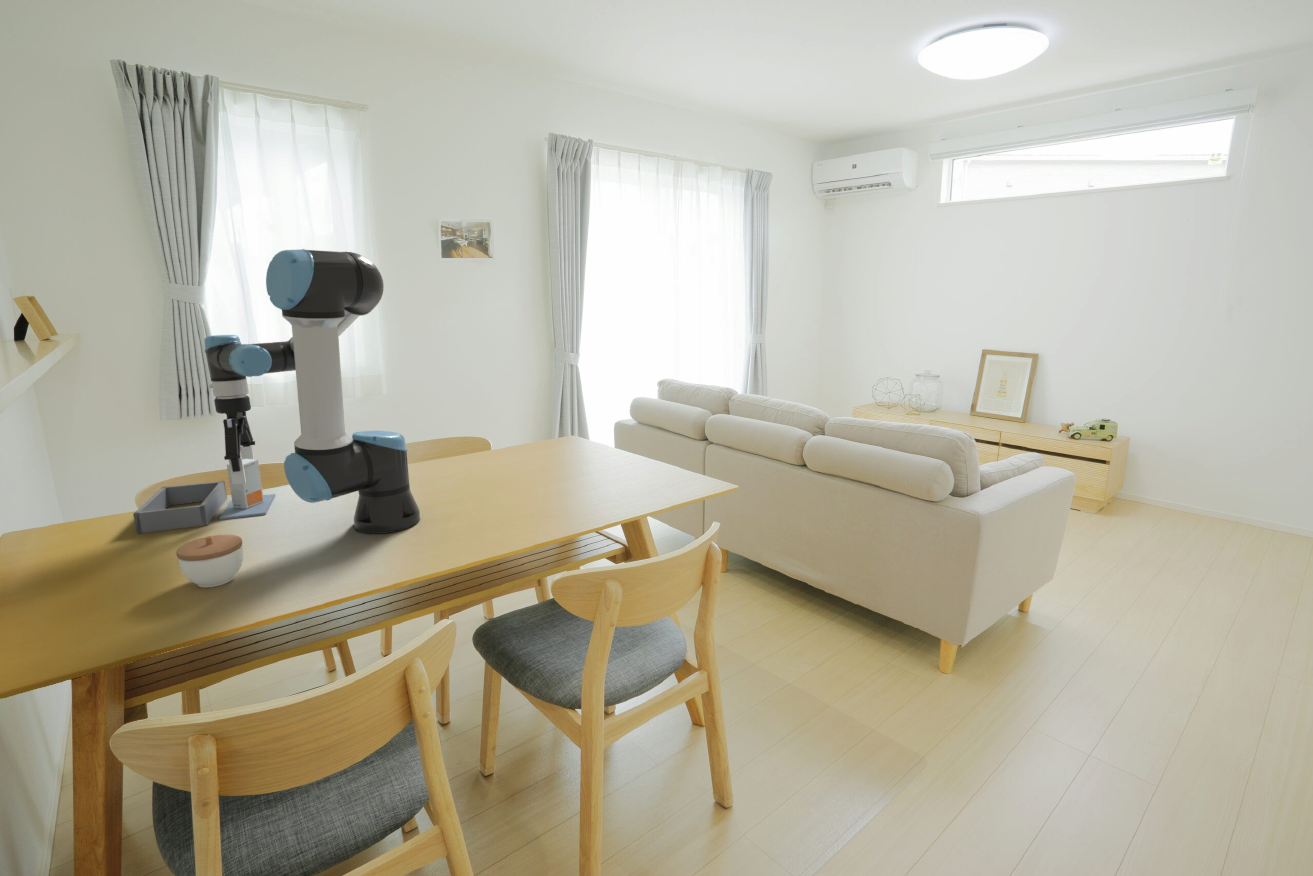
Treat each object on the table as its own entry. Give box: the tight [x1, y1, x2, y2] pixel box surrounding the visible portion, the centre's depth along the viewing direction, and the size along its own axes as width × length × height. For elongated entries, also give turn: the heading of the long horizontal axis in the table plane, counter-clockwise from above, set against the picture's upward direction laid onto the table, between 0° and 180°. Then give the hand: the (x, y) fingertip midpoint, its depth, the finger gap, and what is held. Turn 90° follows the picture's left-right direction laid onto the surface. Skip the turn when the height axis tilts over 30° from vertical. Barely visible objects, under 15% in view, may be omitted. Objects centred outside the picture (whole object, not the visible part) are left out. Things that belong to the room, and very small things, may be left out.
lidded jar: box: [175, 534, 244, 589], centre depth 125 cm, size 11×11×9 cm
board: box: [219, 493, 276, 521], centre depth 167 cm, size 16×10×1 cm, turn 23°
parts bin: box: [133, 480, 228, 535], centre depth 161 cm, size 22×14×5 cm, turn 23°
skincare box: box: [226, 458, 264, 509], centre depth 166 cm, size 6×4×12 cm
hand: (244, 476), depth 165 cm, fingers open, 13 cm apart
